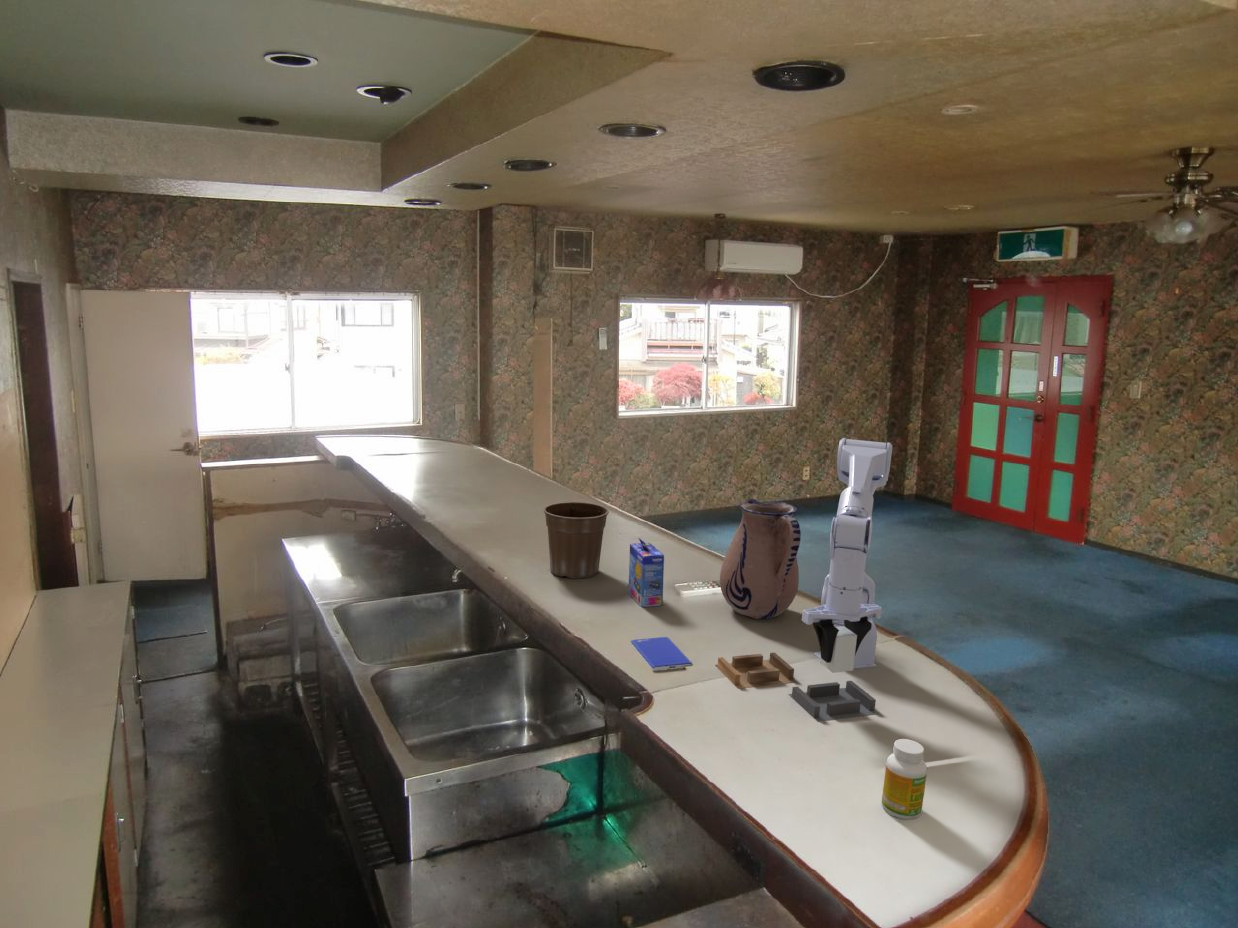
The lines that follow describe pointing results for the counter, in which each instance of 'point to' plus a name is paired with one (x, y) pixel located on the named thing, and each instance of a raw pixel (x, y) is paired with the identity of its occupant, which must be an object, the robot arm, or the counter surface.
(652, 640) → the hard drive
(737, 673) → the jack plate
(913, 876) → the counter surface
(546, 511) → the plant pot
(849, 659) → the plug block
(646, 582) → the ink cartridge box
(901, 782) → the supplement bottle
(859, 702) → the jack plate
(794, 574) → the ceramic pitcher
